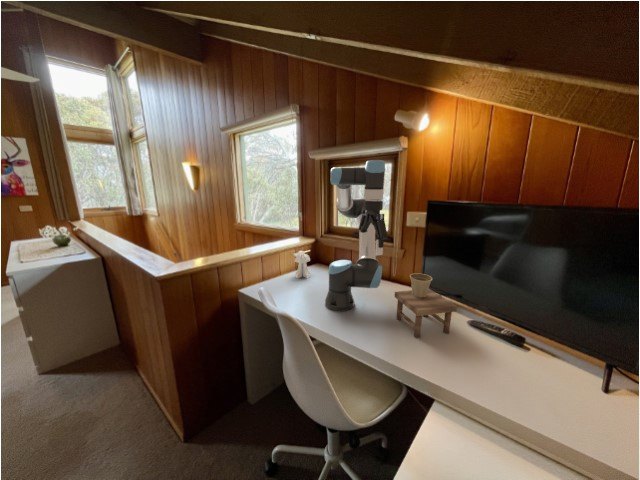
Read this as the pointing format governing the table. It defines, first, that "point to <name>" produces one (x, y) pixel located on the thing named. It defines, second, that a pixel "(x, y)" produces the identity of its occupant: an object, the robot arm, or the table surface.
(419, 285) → the flower pot
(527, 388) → the table surface
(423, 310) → the walnut stool
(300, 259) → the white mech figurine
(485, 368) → the table surface
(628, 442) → the table surface
